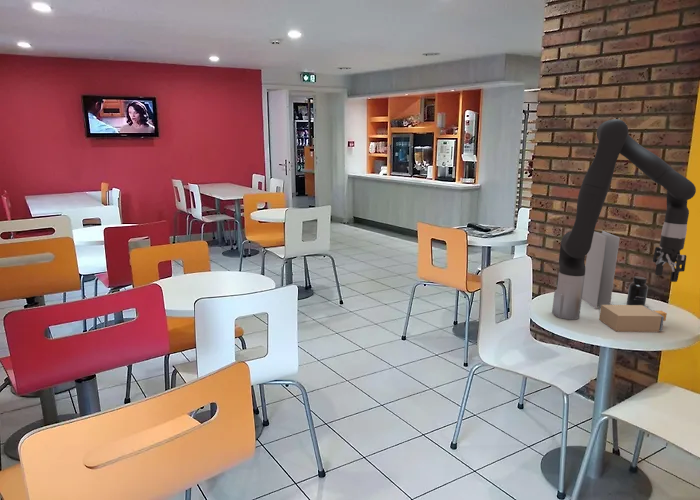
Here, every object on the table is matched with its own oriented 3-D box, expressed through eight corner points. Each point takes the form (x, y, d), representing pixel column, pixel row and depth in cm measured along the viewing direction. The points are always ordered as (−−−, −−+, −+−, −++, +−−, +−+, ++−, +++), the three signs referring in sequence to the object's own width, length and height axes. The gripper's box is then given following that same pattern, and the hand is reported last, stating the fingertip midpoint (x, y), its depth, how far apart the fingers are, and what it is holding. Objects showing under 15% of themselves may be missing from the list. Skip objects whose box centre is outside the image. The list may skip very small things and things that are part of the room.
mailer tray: (618, 330, 186) (620, 316, 185) (601, 318, 198) (603, 305, 196) (672, 330, 187) (674, 316, 185) (652, 319, 198) (654, 305, 197)
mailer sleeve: (615, 331, 186) (618, 315, 185) (599, 319, 198) (601, 304, 196) (659, 331, 186) (661, 316, 185) (639, 320, 198) (642, 305, 197)
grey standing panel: (609, 309, 209) (620, 237, 203) (596, 309, 209) (606, 237, 203) (593, 298, 223) (603, 230, 217) (581, 298, 223) (590, 230, 217)
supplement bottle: (637, 308, 212) (641, 280, 209) (622, 303, 218) (626, 276, 215) (648, 306, 214) (653, 279, 212) (634, 301, 220) (638, 274, 218)
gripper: (651, 231, 192) (644, 273, 196) (676, 239, 178) (668, 283, 182) (670, 231, 193) (663, 273, 196) (697, 239, 179) (688, 284, 182)
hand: (665, 278), depth 189 cm, fingers open, 8 cm apart
